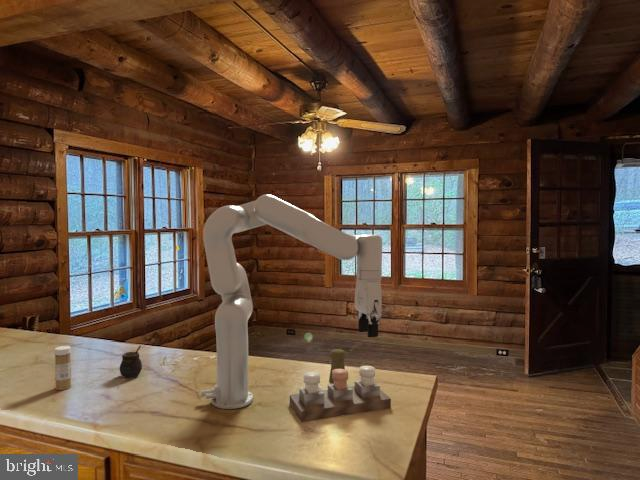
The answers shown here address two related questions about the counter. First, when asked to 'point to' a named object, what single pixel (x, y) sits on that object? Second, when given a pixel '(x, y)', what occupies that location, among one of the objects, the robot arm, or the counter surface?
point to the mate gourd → (130, 364)
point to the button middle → (340, 378)
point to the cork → (337, 361)
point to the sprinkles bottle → (62, 367)
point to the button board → (338, 401)
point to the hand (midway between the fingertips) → (368, 333)
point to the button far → (367, 375)
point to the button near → (311, 382)
